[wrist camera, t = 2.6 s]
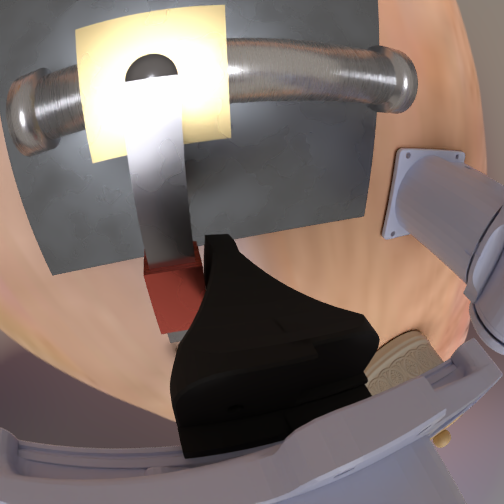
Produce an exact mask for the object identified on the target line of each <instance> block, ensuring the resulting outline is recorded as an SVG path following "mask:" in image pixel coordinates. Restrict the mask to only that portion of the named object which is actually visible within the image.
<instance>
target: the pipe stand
mask: <svg viewBox="0 0 504 504" xmlns="http://www.w3.org/2000/svg"><path fill="white" fill-rule="evenodd" d="M147 54H161V55H164V56H166V57H168V58H170V59H171V60H172V61H173V62H174V64H175V66H176V68H177V71H178V75H180V93H181V114H182V131H183V145H184V158H185V171H186V182H187V192H188V202H189V212H190V221H191V230H192V238H193V241H197V245H198V246H201V245H204V243H205V235H214V234H229V235H230V236H231V237H232V238H233V239H238V238H244V237H249V236H254V235H260V234H265V233H271V232H276V231H282V230H288V229H293V228H299V227H305V226H310V225H316V224H322V223H328V222H333V221H339V220H345V219H351V218H357V217H363V216H364V213H365V207H366V201H367V195H368V188H369V181H370V173H371V166H372V157H373V148H374V139H375V128H376V116H377V112H384V113H394V114H398V113H402V112H404V111H406V110H407V109H408V108H409V107H410V106H411V105H412V103H413V101H414V99H415V97H416V94H417V88H418V79H417V73H416V70H415V67H414V65H413V63H412V61H411V60H410V58H409V57H408V56H407V55H406V54H404V53H403V52H401V51H399V50H395V49H392V48H388V47H384V46H379V18H378V0H0V116H1V121H2V127H3V132H4V137H5V142H6V146H7V151H8V155H9V159H10V163H11V166H12V170H13V174H14V177H15V181H16V184H17V187H18V191H19V194H20V197H21V200H22V203H23V206H24V209H25V211H26V214H27V217H28V220H29V222H30V225H31V228H32V230H33V233H34V235H35V238H36V240H37V242H38V245H39V247H40V249H41V252H42V254H43V256H44V258H45V261H46V263H47V265H48V267H49V269H50V271H51V273H52V275H57V274H62V273H67V272H71V271H76V270H81V269H86V268H90V267H95V266H100V265H105V264H110V263H115V262H120V261H125V260H129V259H134V258H139V257H144V244H143V240H142V235H141V230H140V226H139V221H138V216H137V211H136V205H135V200H134V194H133V189H132V183H131V177H130V170H129V164H128V157H127V150H126V142H125V134H124V125H123V115H122V104H121V92H120V83H123V82H125V75H126V72H127V70H128V68H129V67H130V65H131V64H132V63H133V62H134V61H135V60H136V59H138V58H139V57H141V56H144V55H147Z"/></svg>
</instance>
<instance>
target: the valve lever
mask: <svg viewBox="0 0 504 504" xmlns="http://www.w3.org/2000/svg"><path fill="white" fill-rule="evenodd" d="M120 92H121V104H122V115H123V125H124V134H125V142H126V150H127V157H128V164H129V170H130V177H131V183H132V189H133V194H134V200H135V205H136V211H137V216H138V221H139V226H140V230H141V235H142V240H143V244H144V278H145V282H146V286H147V289H148V293H149V296H150V299H151V303H152V306H153V309H154V313H155V316H156V319H157V322H158V325H159V328H160V331H161V334H165V333H167V334H168V337H169V340H170V343H173V342H179V341H181V340H182V339H183V337H184V335H185V334H186V332H187V331H188V329H189V327H190V326H191V324H192V322H193V320H194V318H195V316H196V314H197V312H198V310H199V307H200V305H201V302H202V300H203V297H204V294H205V291H206V290H205V282H204V274H203V266H202V262H201V258H200V254H199V250H198V245H197V241H193V238H192V230H191V221H190V212H189V202H188V192H187V182H186V171H185V158H184V145H183V131H182V114H181V93H180V75H178V71H177V68H176V66H175V64H174V62H173V61H172V60H171V59H170V58H168V57H166V56H164V55H161V54H147V55H144V56H141V57H139V58H138V59H136V60H135V61H134V62H133V63H132V64H131V65H130V67H129V68H128V70H127V72H126V75H125V82H123V83H120Z"/></svg>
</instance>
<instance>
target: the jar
mask: <svg viewBox="0 0 504 504" xmlns="http://www.w3.org/2000/svg"><path fill="white" fill-rule="evenodd" d="M441 363H443V360H442V359H441V358H440V356H439V355H438V354H437V352H436V351H435V350H434V349H433V347H432V346H431V344H430V342H429V340H427V338H426V337H425V336H424V335H422V334H421V333H420V332H419V331H411V332H407V333H405V334H403V335H400V336H399V337H397V338H395V339H393V340H392V341H390V342H389V343H387V344H386V345H385V346H383V347H382V348H381V349H379V350H378V351H377V352H376V353H375V355H374V356H373V358H372V359H371V361H370V363H369V364H368V366H367V367H366V369H365V370H364V373H365V375H366V376H367V378H368V382H367V384H365V385H366V387H367V388H368V390H369V392H370V393H371V395H372V396H374V395H376V394H379V393H381V392H383V391H386V390H388V389H390V388H392V387H395V386H397V385H399V384H401V383H403V382H405V381H407V380H410V379H412V378H415V377H417V376H419V375H421V374H423V373H425V372H427V371H429V370H430V369H432V368H434V367H436V366H438V365H440V364H441ZM462 415H463V414H462ZM462 415H461V416H462ZM461 416H459V417H458V418H460V417H461ZM458 418H457V419H458ZM457 419H456V420H457ZM456 420H454V421H453V422H452V423H454V422H455V421H456ZM452 423H451V424H452ZM451 424H449V425H448V426H447V427H445V428H444V429H443V430H441V431H440V432H439V433H437V434H436V435H434V436H433V437H432V438H430V440H431V439H433V442H434V444H435V445H436V446H437V447H440V448H441V447H444V446H446V445H447V444H448V443H449V442H450V439H451V435H450V433H449V432H448V431H447V430H445V429H446V428H448V427H449V426H450V425H451Z"/></svg>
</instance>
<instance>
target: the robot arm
mask: <svg viewBox="0 0 504 504" xmlns="http://www.w3.org/2000/svg"><path fill="white" fill-rule="evenodd" d="M406 154H407V156H406ZM464 160H465V153H464V152H462V151H455V150H440V149H420V148H400V149H399V150H398V151H397V154H396V161H395V168H394V174H393V180H392V186H391V192H390V197H389V202H388V208H387V213H386V217H385V222H384V227H383V231H382V237H383V238H384V239H391V238H396V237H400V236H404V235H409V234H411V235H412V236H414V237H415V238H416V239H417V240H418V241H420V242H421V243H422V244H423V245H424V246H425V247H426V248H428V249H429V250H430V251H431V252H432V253H433V254H434V255H436V256H437V257H438V258H439V259H440V260H441V261H442V262H443V263H444V264H446V265H447V266H448V267H449V268H450V269H451V270H452V271H453V272H454V273H455V274H456V275H457V276H458V277H459V278H460V279H462V280H463V281H464V282H465V283H466V284H467V286H466V288H465V290H464V295H465V296H466V297H467V298H468V299H469V300H470V301H471V302H470V305H469V314H470V318H471V321H472V323H473V325H474V328H475V330H476V332H477V333H478V335H479V337H480V338H481V339H482V340H483V342H485V344H487V345H488V346H489V347H490V348H491V349H493V350H494V351H496V352H498V353H500V354H503V355H504V186H503V185H502V184H500V183H499V182H497V181H495V180H494V179H492V178H490V177H489V176H487V175H485V174H483V173H482V172H480V171H478V170H476V169H474V168H473V167H471V166H469V165H467V164H465V163H464ZM204 282H205V288H206V291H205V294H204V297H203V300H202V302H201V305H200V307H199V310H198V312H197V314H196V316H195V318H194V320H193V322H192V324H191V326H190V327H189V329H188V331H187V332H186V334H185V335H184V337H183V339H182V340H181V342H180V343H179V345H178V350H177V353H176V357H175V361H174V365H173V369H172V374H171V380H170V394H171V401H172V407H173V411H174V415H175V419H176V423H177V426H178V432H179V437H180V442H181V445H179V446H168V447H154V448H129V449H105V448H81V447H67V446H57V445H48V444H41V443H34V442H28V441H22V440H17V438H16V437H15V436H14V435H13V434H11V433H10V432H9V431H7V430H5V429H3V428H1V427H0V504H467V503H466V502H465V500H464V498H463V496H462V494H461V493H460V491H459V489H458V487H457V485H456V484H455V482H454V480H453V478H452V476H451V475H450V473H449V471H448V469H447V468H446V466H445V464H444V462H443V461H442V459H441V458H440V456H439V454H438V452H437V451H436V449H435V447H434V446H433V444H432V442H431V441H430V438H432V437H433V436H434V435H436V434H437V433H439V432H440V431H441V430H443V429H444V428H445V427H447V426H448V425H449V424H451V423H452V422H453V421H454V420H456V419H457V418H458V417H459V416H461V415H462V414H463V413H464V412H466V411H467V410H468V409H469V408H470V407H471V406H473V405H474V404H475V403H476V402H477V401H478V400H479V399H480V398H481V397H482V396H483V395H484V394H485V393H486V392H487V391H488V390H489V389H490V388H491V387H492V386H493V385H494V384H495V383H496V382H497V381H498V380H499V379H500V378H501V377H502V375H503V374H502V372H501V371H500V370H499V368H498V367H497V366H496V364H495V363H494V362H493V360H492V359H491V358H490V357H489V355H488V354H487V353H486V352H485V350H484V349H483V348H482V347H481V346H480V345H479V343H478V342H477V341H476V340H475V338H472V339H470V340H469V341H467V342H465V343H463V344H462V345H461V346H460V347H458V348H457V350H456V351H455V352H454V353H453V355H452V356H451V358H450V359H449V360H447V361H445V362H443V363H441V364H440V365H438V366H436V367H434V368H432V369H430V370H429V371H427V372H425V373H423V374H421V375H419V376H417V377H415V378H412V379H410V380H407V381H405V382H403V383H401V384H399V385H397V386H395V387H392V388H390V389H388V390H386V391H383V392H381V393H379V394H376V395H374V396H372V395H371V393H370V392H369V390H368V388H367V387H366V385H365V384H367V382H368V378H367V376H366V375H365V373H364V370H365V369H366V367H367V366H368V364H369V363H370V361H371V359H372V358H373V356H374V355H375V353H376V351H377V349H378V346H379V340H380V339H379V336H378V334H377V333H376V331H375V330H374V329H373V327H372V326H371V324H370V323H369V322H368V320H367V319H366V318H365V316H364V315H363V314H359V313H355V312H352V311H348V310H345V309H341V308H337V307H334V306H332V305H329V304H326V303H323V302H321V301H318V300H316V299H313V298H311V297H309V296H306V295H304V294H302V293H300V292H298V291H296V290H294V289H292V288H290V287H288V286H287V285H285V284H283V283H281V282H280V281H278V280H276V279H275V278H273V277H272V276H270V275H269V274H267V273H266V272H264V271H263V270H262V269H260V268H259V267H257V266H256V265H255V264H254V263H252V262H251V261H250V260H249V259H247V258H246V257H245V256H244V255H243V254H241V253H240V252H239V250H238V248H237V245H236V243H235V241H234V240H233V238H232V237H231V236H230V235H229V234H214V235H205V243H204Z"/></svg>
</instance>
